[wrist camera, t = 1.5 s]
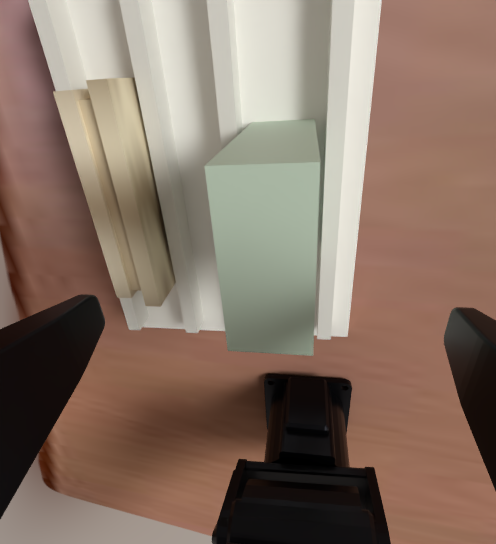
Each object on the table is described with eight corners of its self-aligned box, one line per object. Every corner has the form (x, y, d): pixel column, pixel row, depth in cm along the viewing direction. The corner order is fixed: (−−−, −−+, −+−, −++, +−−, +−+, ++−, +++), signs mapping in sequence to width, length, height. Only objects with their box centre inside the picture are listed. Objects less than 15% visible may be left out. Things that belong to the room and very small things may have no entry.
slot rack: (346, 327, 23) (349, 353, 21) (139, 318, 26) (124, 340, 24) (385, -77, 13) (400, -106, 11) (42, -29, 16) (0, -44, 14)
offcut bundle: (180, 274, 22) (160, 306, 19) (141, 273, 22) (115, 305, 19) (143, 77, 16) (106, 78, 13) (91, 81, 17) (45, 83, 14)
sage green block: (311, 243, 19) (313, 355, 12) (258, 242, 20) (227, 350, 12) (314, 118, 16) (320, 162, 9) (252, 122, 17) (204, 165, 9)
